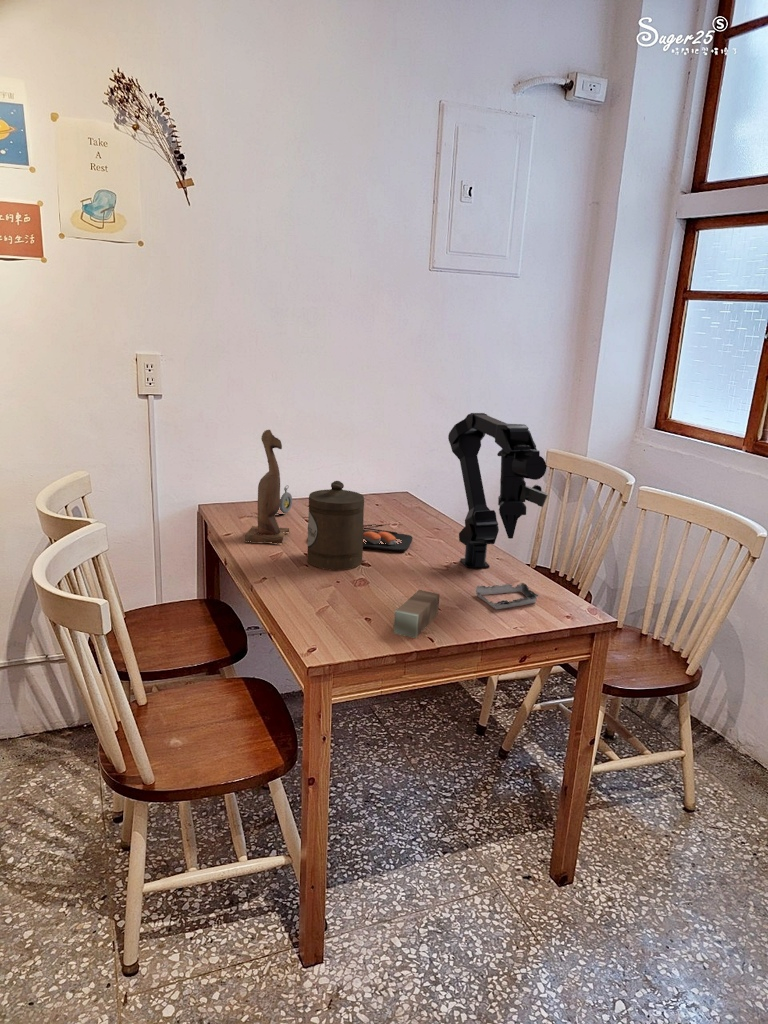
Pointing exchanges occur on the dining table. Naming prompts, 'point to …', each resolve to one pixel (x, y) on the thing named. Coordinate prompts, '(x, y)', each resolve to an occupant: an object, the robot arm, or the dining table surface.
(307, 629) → the dining table surface
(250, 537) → the bird sculpture
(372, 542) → the sushi plate
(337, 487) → the wooden container
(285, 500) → the pocket watch
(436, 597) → the grey-green metal block
